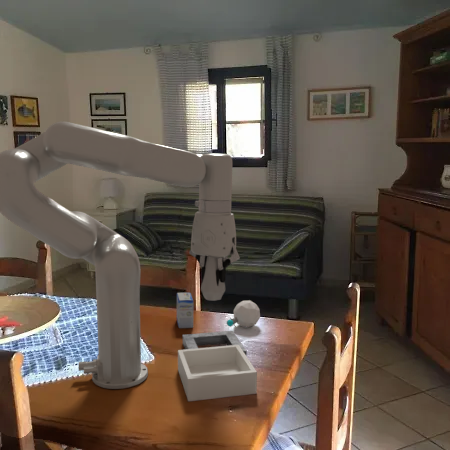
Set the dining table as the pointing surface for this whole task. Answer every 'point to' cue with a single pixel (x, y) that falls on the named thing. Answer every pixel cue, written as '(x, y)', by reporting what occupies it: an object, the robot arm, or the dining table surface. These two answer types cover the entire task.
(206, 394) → the bin
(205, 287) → the salt shaker
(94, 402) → the dining table surface
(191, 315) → the medicine box
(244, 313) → the perfume bottle
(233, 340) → the collar block
